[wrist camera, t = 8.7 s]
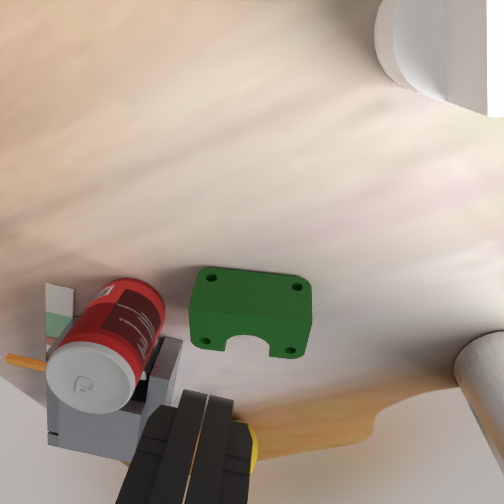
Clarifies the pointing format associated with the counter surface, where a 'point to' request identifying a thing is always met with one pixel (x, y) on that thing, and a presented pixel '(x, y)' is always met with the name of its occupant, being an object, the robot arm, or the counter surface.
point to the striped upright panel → (57, 311)
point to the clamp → (251, 310)
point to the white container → (445, 50)
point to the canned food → (107, 348)
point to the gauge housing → (114, 423)
